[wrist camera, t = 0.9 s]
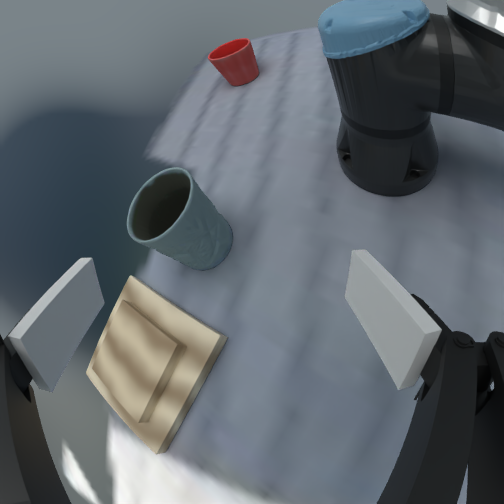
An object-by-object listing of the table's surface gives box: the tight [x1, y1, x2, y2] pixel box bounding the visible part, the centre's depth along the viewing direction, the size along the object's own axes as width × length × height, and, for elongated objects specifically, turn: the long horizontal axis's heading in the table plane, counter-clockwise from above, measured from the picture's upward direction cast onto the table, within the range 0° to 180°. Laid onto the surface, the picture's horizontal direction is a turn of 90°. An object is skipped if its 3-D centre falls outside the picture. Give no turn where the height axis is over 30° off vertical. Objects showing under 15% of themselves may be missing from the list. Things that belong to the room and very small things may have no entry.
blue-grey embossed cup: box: [127, 168, 233, 270], centre depth 35 cm, size 10×10×12 cm
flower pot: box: [208, 38, 259, 86], centre depth 54 cm, size 11×11×10 cm
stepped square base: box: [86, 275, 228, 454], centre depth 35 cm, size 20×20×4 cm
